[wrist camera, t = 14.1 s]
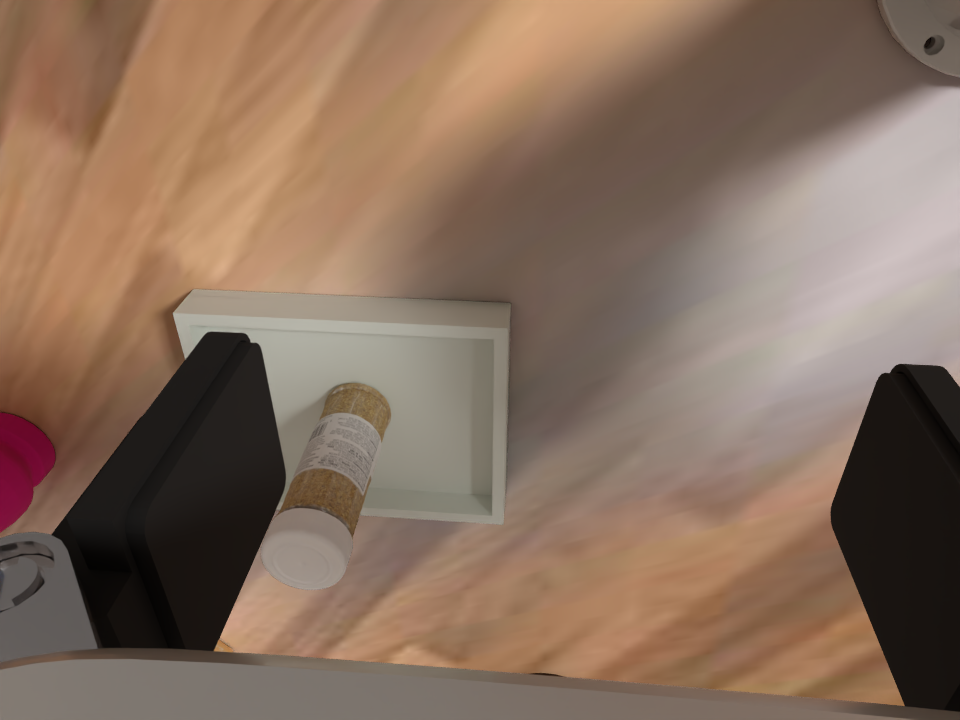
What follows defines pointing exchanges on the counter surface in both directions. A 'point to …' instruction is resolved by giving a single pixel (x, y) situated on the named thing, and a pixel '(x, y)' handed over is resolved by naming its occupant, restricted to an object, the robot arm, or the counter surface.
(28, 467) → the pepper mill
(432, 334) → the tray
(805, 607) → the counter surface
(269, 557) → the sprinkles bottle
